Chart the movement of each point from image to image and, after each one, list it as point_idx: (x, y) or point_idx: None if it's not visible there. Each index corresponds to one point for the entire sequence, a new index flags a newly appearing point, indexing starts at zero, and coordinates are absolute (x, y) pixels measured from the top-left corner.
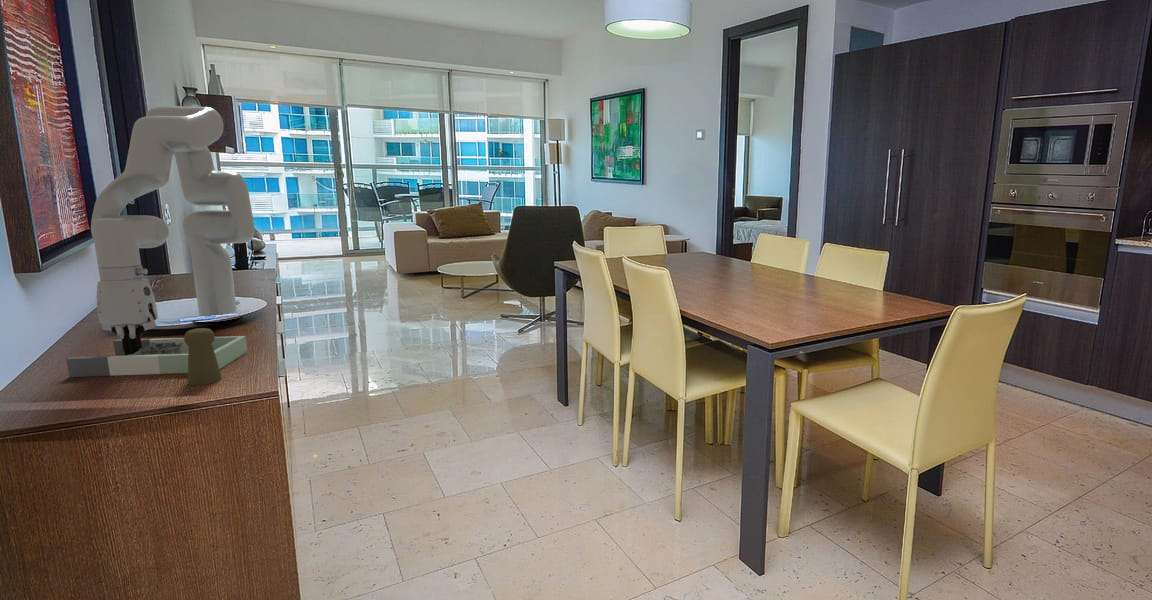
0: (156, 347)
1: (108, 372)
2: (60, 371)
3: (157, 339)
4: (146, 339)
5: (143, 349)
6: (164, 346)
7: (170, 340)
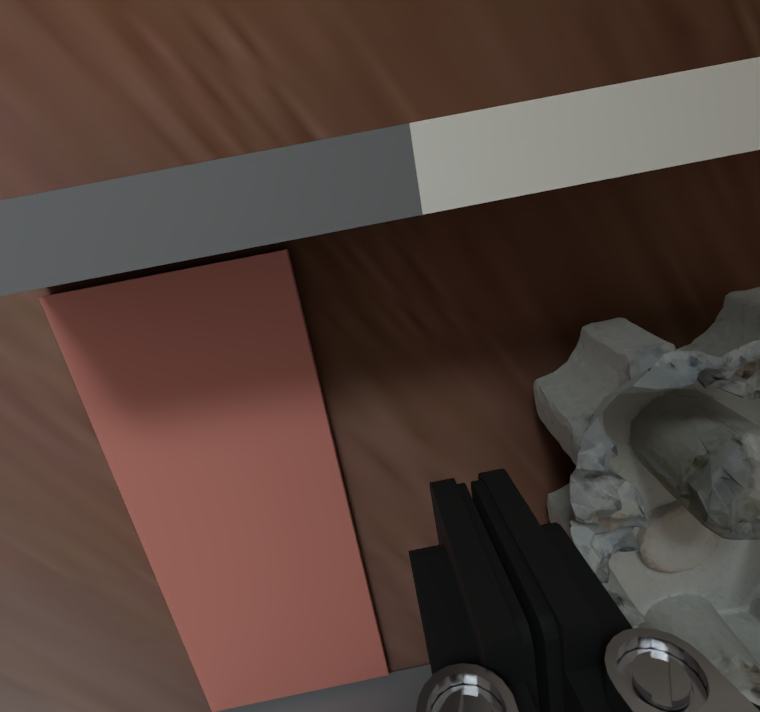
0: (728, 506)
1: None
2: (12, 658)
3: (538, 179)
4: (348, 186)
5: (592, 539)
6: (748, 398)
7: (722, 156)
